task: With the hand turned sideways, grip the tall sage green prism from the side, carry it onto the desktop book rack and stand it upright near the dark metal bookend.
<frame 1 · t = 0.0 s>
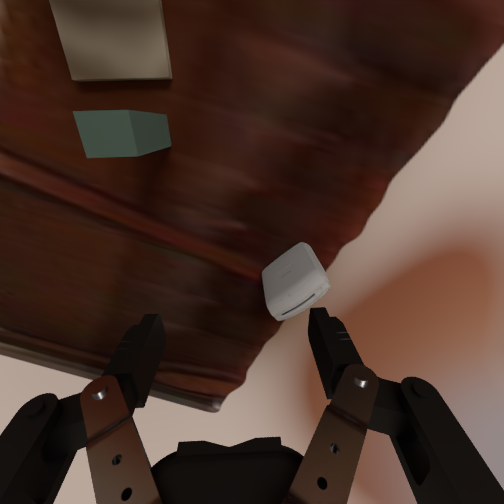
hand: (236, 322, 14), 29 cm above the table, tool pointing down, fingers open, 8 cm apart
photo printer: (286, 261, 46), on the table
desktop book rack: (110, 8, 29), on the table
tall sage green prism: (151, 131, 35), on the table
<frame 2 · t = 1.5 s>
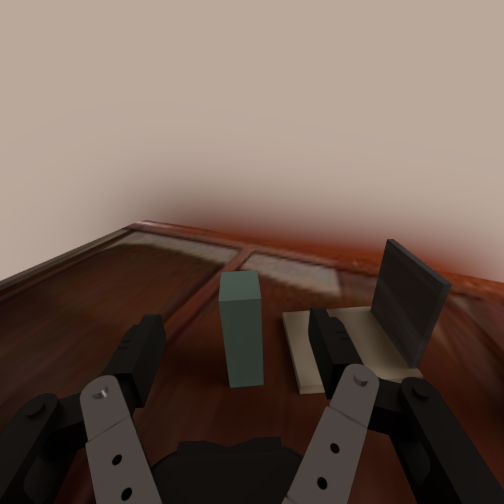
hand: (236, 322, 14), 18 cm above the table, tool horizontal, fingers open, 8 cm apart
desktop book rack: (340, 347, 34), on the table
tall sage green prism: (246, 367, 32), on the table
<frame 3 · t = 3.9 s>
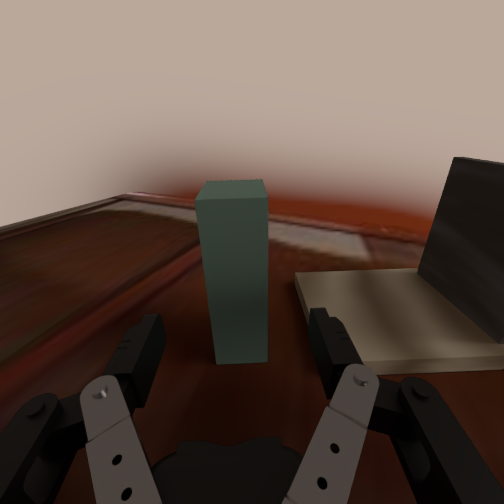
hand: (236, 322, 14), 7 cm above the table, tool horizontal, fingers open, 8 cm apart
desktop book rack: (379, 317, 24), on the table
tall sage green prism: (242, 338, 22), on the table
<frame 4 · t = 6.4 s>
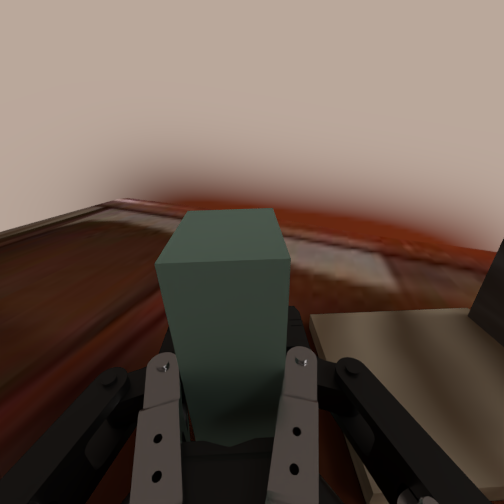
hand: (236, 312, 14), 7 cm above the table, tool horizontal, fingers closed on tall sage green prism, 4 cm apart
desktop book rack: (429, 385, 18), on the table
tall sage green prism: (242, 425, 16), on the table, touching gripper
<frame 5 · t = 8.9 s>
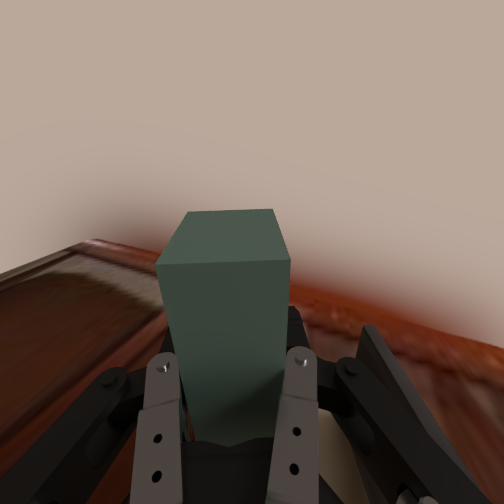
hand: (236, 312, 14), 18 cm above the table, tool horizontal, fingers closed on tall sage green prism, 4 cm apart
desktop book rack: (284, 497, 21), on the table
tall sage green prism: (242, 425, 16), point 11 cm above the table, touching gripper
when the fingers open (10 cm above the table, at t = 11.4 s): tall sage green prism drops 1 cm, resting on desktop book rack.
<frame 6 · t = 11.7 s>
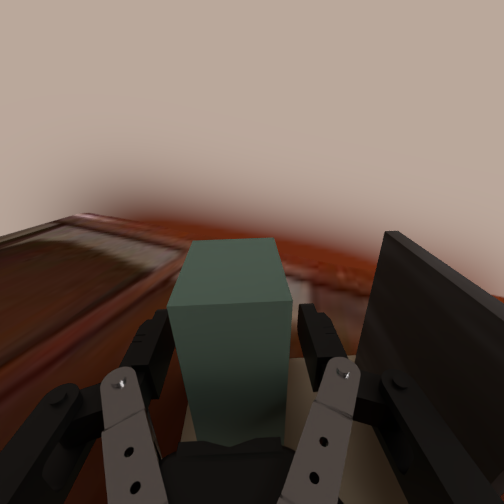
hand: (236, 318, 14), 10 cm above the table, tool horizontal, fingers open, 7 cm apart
desktop book rack: (288, 448, 17), on the table
tall sage green prism: (244, 440, 16), point 2 cm above the table, touching desktop book rack
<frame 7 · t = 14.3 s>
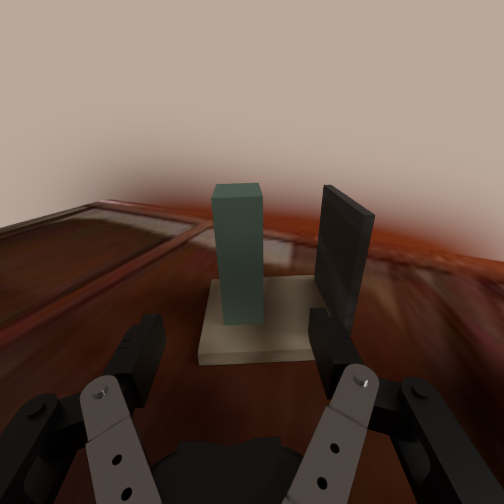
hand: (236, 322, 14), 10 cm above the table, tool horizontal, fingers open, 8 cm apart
desktop book rack: (269, 317, 28), on the table
tall sage green prism: (243, 308, 28), point 1 cm above the table, touching desktop book rack
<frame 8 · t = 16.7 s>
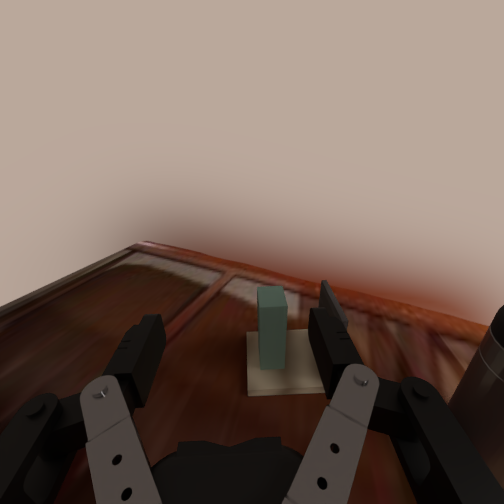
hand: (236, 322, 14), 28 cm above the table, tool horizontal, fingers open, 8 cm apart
desktop book rack: (287, 361, 44), on the table
tall sage green prism: (270, 356, 44), point 1 cm above the table, touching desktop book rack
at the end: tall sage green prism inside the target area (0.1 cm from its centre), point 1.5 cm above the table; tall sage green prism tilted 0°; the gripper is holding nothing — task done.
